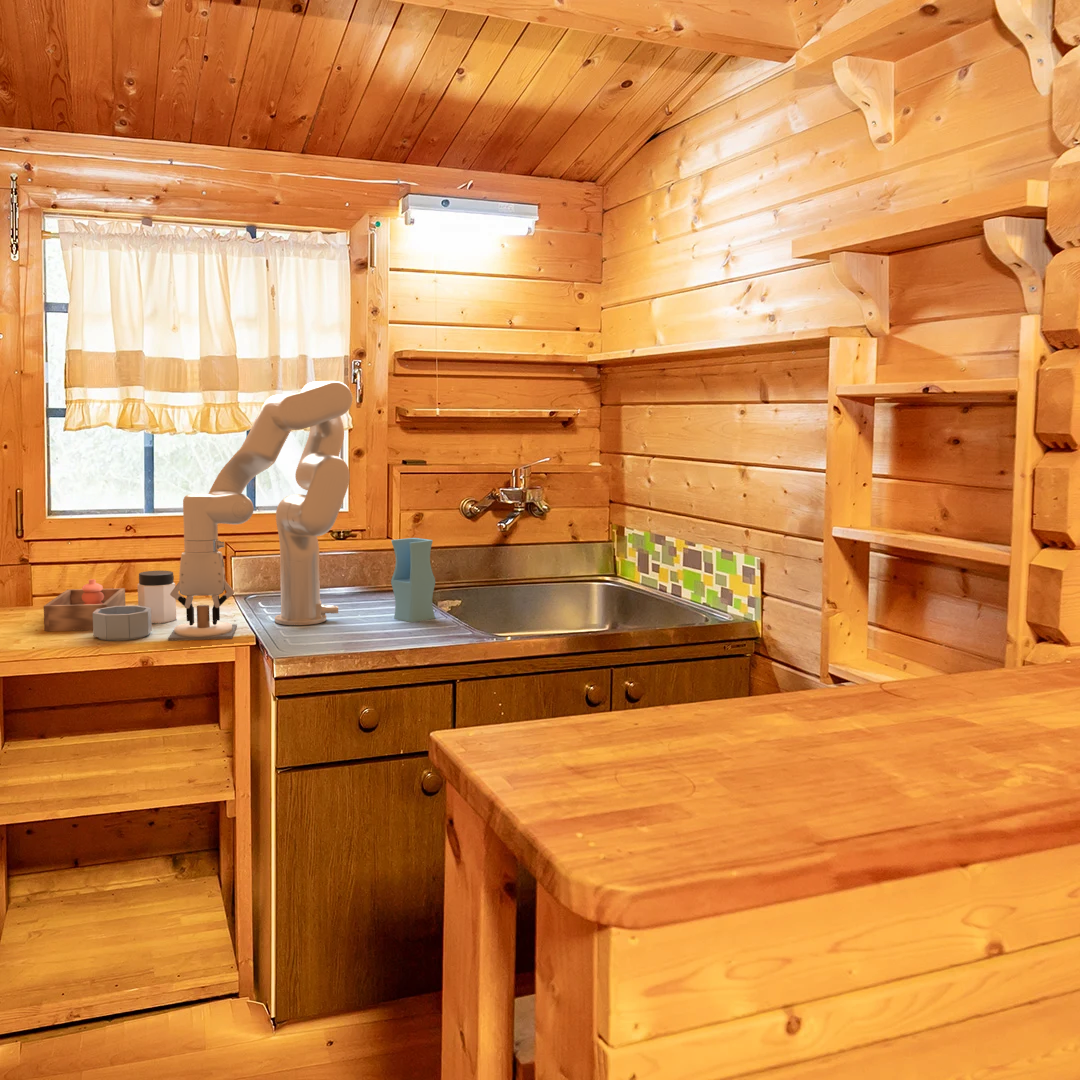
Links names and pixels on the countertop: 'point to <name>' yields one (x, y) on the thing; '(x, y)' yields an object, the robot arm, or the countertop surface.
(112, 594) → the tray
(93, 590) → the pottery
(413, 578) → the vase
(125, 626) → the bowl
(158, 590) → the jar
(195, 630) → the lid
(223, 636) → the mat
